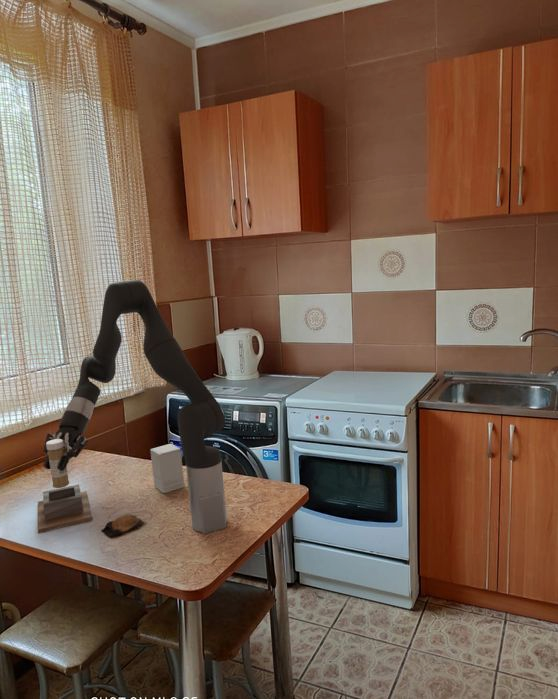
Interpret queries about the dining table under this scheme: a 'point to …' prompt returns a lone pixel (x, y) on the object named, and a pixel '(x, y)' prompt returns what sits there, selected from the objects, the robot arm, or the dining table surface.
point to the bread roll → (122, 526)
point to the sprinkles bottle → (55, 454)
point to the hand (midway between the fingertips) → (53, 468)
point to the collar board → (63, 508)
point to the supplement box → (167, 468)
